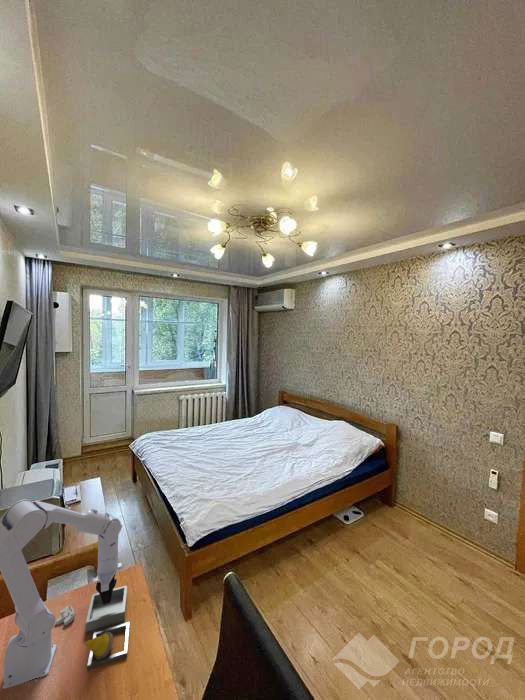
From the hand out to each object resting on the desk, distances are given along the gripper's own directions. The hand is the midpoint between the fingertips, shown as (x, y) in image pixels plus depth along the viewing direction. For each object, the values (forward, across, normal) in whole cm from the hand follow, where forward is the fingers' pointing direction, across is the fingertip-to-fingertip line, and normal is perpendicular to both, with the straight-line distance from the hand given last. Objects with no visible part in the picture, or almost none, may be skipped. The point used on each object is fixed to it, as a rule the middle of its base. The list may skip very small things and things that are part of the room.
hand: (107, 595), depth 93 cm
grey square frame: (+6, -12, -2) cm, 13 cm away
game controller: (+8, +1, +13) cm, 15 cm away
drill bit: (+6, -12, -3) cm, 14 cm away
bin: (+6, 0, 0) cm, 6 cm away
